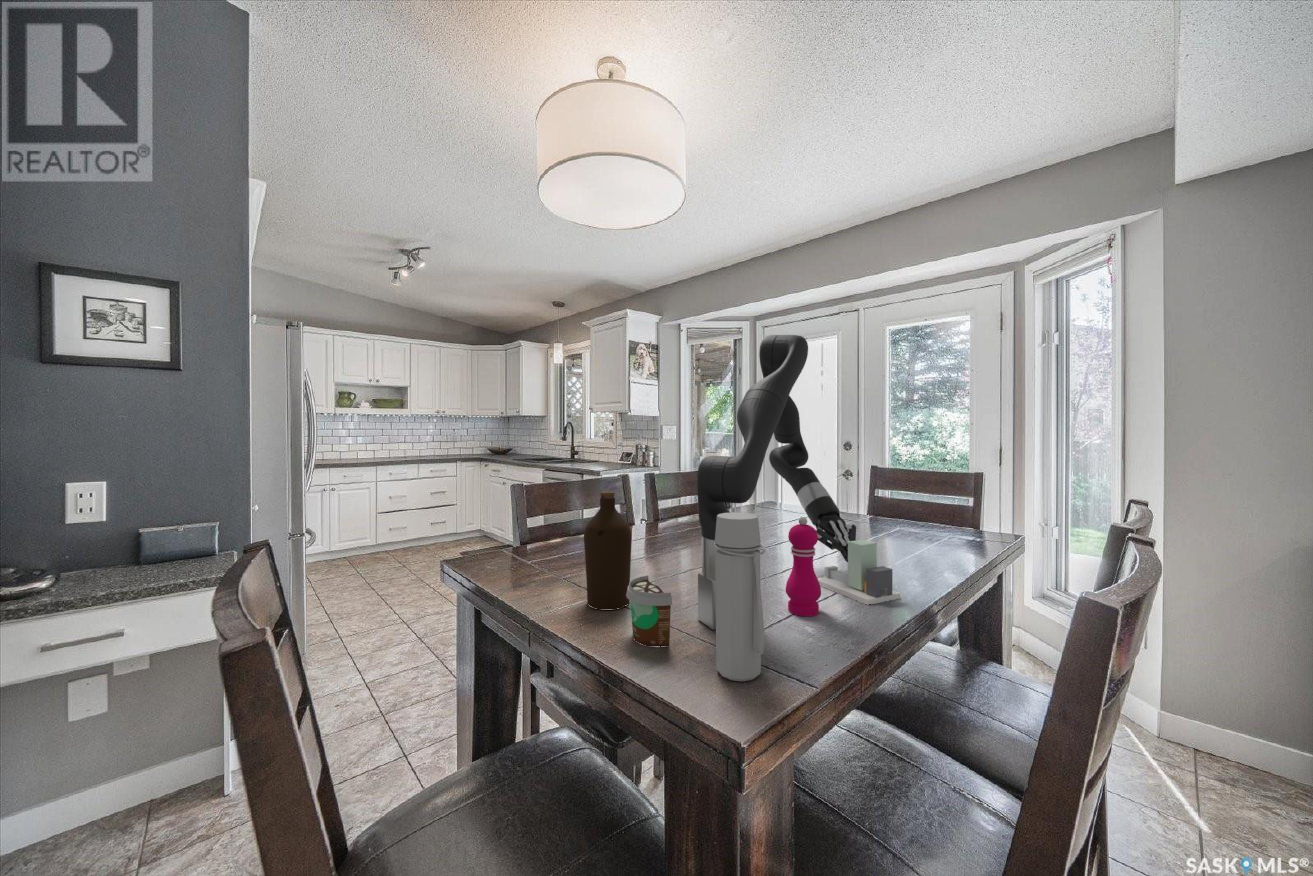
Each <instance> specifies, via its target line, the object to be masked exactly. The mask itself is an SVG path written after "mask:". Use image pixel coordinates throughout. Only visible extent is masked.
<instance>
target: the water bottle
mask: <svg viewBox="0 0 1313 876" xmlns="http://www.w3.org/2000/svg"><path fill="white" fill-rule="evenodd" d="M759 522H760V521H759V515H757V514H755V513H750V512H748V513H747V512H734V511H733V512H730V513H722V514H718V515H717V521H716V533H715V542H714V546H715V547H716V548H717V549H716V551H715V568H716V629H715V669H716V670H717V671H718V673H719V674H720V675H721V676H722V677H723V678H725V679H728V680H730V681H735V682H746V681H747V682H748V681H752V680H754V679H756V678H757V677H758V676H760V674H761V671H762V654H764V650H765V642H766V641H765V640H766V636H765V634H766V633H765V625H764V613H763V612H764V611H763V601H762V589H761V556H762V555H764V554H765V553H766V551H767V550H766V547H765V546H764V545H763V544H762V543H761V534H760V525H759V524H760V523H759ZM761 548H762V551H761V550H760V549H761Z"/></svg>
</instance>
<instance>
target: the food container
mask: <svg viewBox="0 0 1313 876" xmlns="http://www.w3.org/2000/svg"><path fill="white" fill-rule="evenodd" d="M626 597H627V598H628V599H629V600H630V602H629V605H630V616H631V617H630V618H631V626H632V628H631V629H632V639H633V638H634V639H635V641H637V642H639V643H641V644H643V645H646V646H660V647H661V646H669V647H670V639H671V638H670V637H671V636H670V635H671V606H673V596H672V592H664V591H663V590H662V589H661V587H659V586H658V585H656V584H654V583H653V582H651V581H650V579H649V575H643V576H638V577H636V578H633V579H631V580H630V583H629V586H628V588H627V593H626ZM635 641H634V642H635ZM643 645H642V646H643ZM646 646H645V647H646ZM661 648H662V647H661Z"/></svg>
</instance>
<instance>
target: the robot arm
mask: <svg viewBox="0 0 1313 876" xmlns="http://www.w3.org/2000/svg"><path fill="white" fill-rule="evenodd" d="M808 356H809V344H808V341H807V339H806V337H804V336H802V335H796V334H772V335H771V334H770V335H769V334H768V335H765V336H764V338H763V339H762V340H761V343H760V346H759V356H758V357H759V363H760V369H761V373H762V379H760V380H758V382H756V383H754V384H753V385H752V386H750V388H749V389H747V391H746V392H745V394H744V395H743V398H742V401H741V403H740V404H739V406H738V409H737V413H736V421H737V425H738V428H739V431H740V434H741V435H742V438H743V442H744V444H743V446H742V450H740V451H741V452H740V453H739V454H738V455H735V456H732V455H731V456H729V455H728V456H727V455H708V456H706V457H704V458H703V459H702V460H701V461H700V463H699V465H698V468H697V469H698V470H697V475H696V493H697V509H698V510H697V513H698V521H699V525H700V529H701V532H700V533H701V572H698V573H697V620H699V621H700V622H701V623H702V624H704V625H706V626H707V627H708V628H710V629H711V630H713V631H716V568H715V551H716V549H717V548H716V547H715V546H714V542H715V533H716V521H717V515H718V514H722V513H731V512H730V511H729V509H728V508H727V507H726V504H727V503H728V504H744V503H747V502H748V501H750V499H751V498H752V496H753V495H754V492H755V490H756V487H757V484H758V481H759V479H760V474H761V471H762V468H763V467H762V466H763V465H764V460H765V457H766V454H767V451H768V448H769V446H770V443H771V441H772V437H773V436H774V439H775V441H776V442H777V443H780V444H785V445H782V446H779V447H778V446H777V447H775V448H773V449H772V450H771V451H770V453H769V454H768V455H769V456H768V457H769V458H768V459H769V463H770V466H771V468H773V470H774V471H775V472H776V473H777V474H778V475H779V476H781V477H782V478H783V479H784V480H785V481H786V482H787V483H788V484H789V485H790V487H791V489H792V490H793V492H794V493H795V495H796V497H797V498H798V501H799V503H800V505H801V506H802V508H803V510H804V512H805V513H806V515H807V517H808V519H809V521H810V522H811V523H812V525H813V526H815V530H816V532H817V535H818V541H819V542H820V543H821V544H823V545H824V546H825V547H827V548H828V549H830V550H832V551H833V550H836V551H837V552H840V555H842V558H843V560H845V562H846V563H848V541H856V537H857V526H856V525H855V524H851V525H850V524H848V523H846V521H845V519H843V518H842V517H841V514H840V513H841V512H840V509H839V507H838V506H837V504H836V503H835V501H834V499H833V498H832V497H831V495H830V494H829V492H828V491H827V489H826V488H825V487H824V486H823V484H822V482H821V481H820V480H819V478H818V476H817V475H816V473H815V472H814V470H812V469H811V468H810V467H804V466H805V465H806V464H807V463H808V460H809V452H808V450H807V447H806V445H805V443H804V439H803V436H802V433H801V420H800V412H799V408H798V407H797V404H796V403H795V401H794V400H793V398H792V397H791V396H790V394H791V391H792V390H793V388H794V386H795V384H796V382H797V380H798V378H799V377H800V375H801V373H802V372H803V370H804V367H805V365H806V362H807V359H808ZM725 503H726V504H725ZM818 541H817V542H818Z"/></svg>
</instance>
